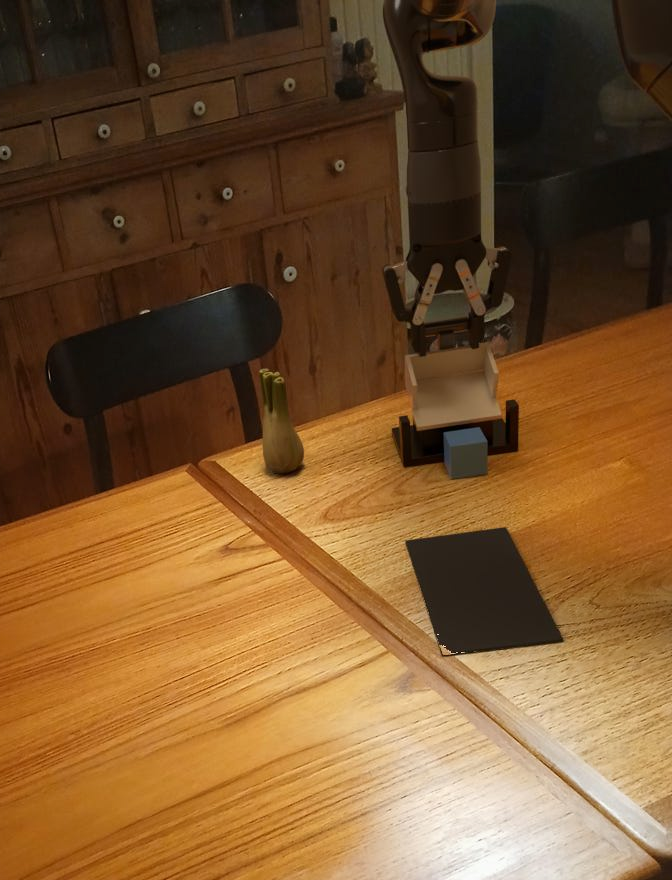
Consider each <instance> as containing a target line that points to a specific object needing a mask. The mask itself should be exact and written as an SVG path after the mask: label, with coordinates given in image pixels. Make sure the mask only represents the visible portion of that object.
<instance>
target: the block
mask: <svg viewBox="0 0 672 880" xmlns="http://www.w3.org/2000/svg"><path fill="white" fill-rule="evenodd" d="M443 465H444V467H445V469H446V471H447V473H448V475H449V478H450V479H451V480H457V479H462V478H470V477H471V478H472V477H476V476H478V477H479V476H484V475H488V455H487V440H486V438H485V436H484V434H483V433H482V431H481V429H480V427H478V428H471V429H464V430H457V431H450V432H444V461H443Z"/></svg>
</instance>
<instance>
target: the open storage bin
mask: <svg viewBox="0 0 672 880" xmlns="http://www.w3.org/2000/svg"><path fill="white" fill-rule="evenodd" d="M424 324H425V331H426V338H430V337H435V336H437V337H436V338H437V340H436V346H437V350H430V351H426V356H424V357H419V355H418V352H416V353H410V354H405V355H404V381H405V384H404V385H405V390H406V394H407V398H408V401H409V406H410V410H411V413H412V419H413V418H414V422H415V426H416V430H417V431H420V430H427V429H434V428H441V427H447V426H454V425H461V424H468V423H475V422H482V421H488V420H495V419H501V418H503V413H502V410H501V407H500V403H499V401H498V399H497V395H498V385H499V375H500V372H499V369H498V366H497V363H496V360H495V357H494V355H493V352H492V351H493V350H492V348H491V346H490V343H489V342H483V343H479V348H478V349H472V348H471V347H470V345H469V344H468V345H462V346H457V347H454V345H455V334H456V333H461V332H467V331H468V332H469V316H467V315H465V316H458V317H452V318H446V319H439V320H433V321H427V322H424Z"/></svg>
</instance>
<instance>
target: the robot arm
mask: <svg viewBox="0 0 672 880" xmlns="http://www.w3.org/2000/svg"><path fill="white" fill-rule="evenodd" d="M610 2H611V9H612V10H611V12H612V19H613V26H614V31H615V38H616V42H617V47H618V51H619V55H620V58H621V62H622V65H623V67H624V69H625V71H626V73H627V75H628V77H629V78H630V80H631V81H632V82H633V84H634V85H636V88H638V89H639V90H640V91H641V92H642V93H645V94H644V95H645V96H646V97H647V98H648V99H649V101H651V102H652V103H653V104H654V106H655V107H657V108H658V110H659V111H660V112H661V113H662V114H663V115H664V116H665V117H666V118H667V119H668V120H669V121H670V122H671V123H672V0H610ZM496 8H497V0H383V2H382V19H383V20H382V21H383V25H384V26H383V27H384V30H385V33H386V36H387V40H388V42H389V46H390V49H391V51H392V55H393V57H394V61H395V63H396V67H397V70H398V75H399V78H400V83H401V86H402V91H403V99H404V105H405V117H406V136H407V164H406V186H405V193H406V197H407V215H408V216H407V217H408V239H409V248H408V253H407V255H406V257H405V260H403V261H401V262H398V263H396V264H392V265H391V264H389V263H388V264H384V265H383V267H381V268H382V269H381V273H382V278H383V281H384V284H385V288H386V291H387V295H388V299H389V303H390V306H391V310H392V313H393V315H394V317H395V319H396V321H397V322H399V323H403V322H404V323H407V324H409V329H410V346H411V348H412V349H413V352H414V354H417V353H418V355H419V357H424V356H426V352H427V337H426V331H425V324H424V323H425V322H424V320H425V317H426V313H427V311H428V308H429V306H431V303H432V300H433V297H434V295H439V294H442V293H445V292H447V291H452V292H456V291H462V292H463V294H464V296H465V298H466V300H467V302H468V305H469V307H470V311H469V312H467V313H468V314H467V315H468V316H467V317H468V319H469V330H468V345H470V347H471V348H472V349H478V348H479V344H481V343H484V341H485V339H486V338H485V337H486V335H485V332H486V331H485V316H486V313H487V312H488V311H489V310H491V309H494V308H498V307H500V306H501V305H502V303H503V299H504V295H505V291H506V286H507V280H508V275H509V271H510V266H511V262H512V256H513V255H512V252H511V251H510V250H509V249H508V248H506V247H505V246H503V245H500V246H498V247H486V246H485V244H484V243H483V240H482V167H481V164H482V163H481V157H480V156H481V155H480V149H479V140H478V139H479V134H478V133H479V128H478V127H479V124H478V123H479V120H478V116H479V115H478V111H479V109H478V107H479V105H478V104H479V103H478V99H479V98H478V88H477V84H476V81H474V80H473V79H472V78H471V77H467V76H461V75H445V74H444V75H443V74H442V75H441V74H436V73H434V72H432V71H430V70H429V69H427V67H426V65H425V62H424V58H423V55H427V54H432V53H437V52H442V51H448V50H454V49H460V48H466V47H469V46H473V45H475V44H477V43H479V41H481V40H483V39H484V38H485V37H486V36H487V35H488V34H489V31H490V30H491V28H492V26H493V24H494V20H495V17H496V11H497V10H496ZM485 259H486V260H487V266H488V268H490V269H491V270H490V275H489V281H488V287H487V291H486V294H485V295H483V296H481V293H480V291H479V288H478V285H477V283H476V281H475V279H474V276H475V275H476V273H477V271H478V270H479V268H480V266H481V265H482V263H483V262H484V260H485ZM407 272H410V273H411V275H412V276H413V277H414V278H415V279H416V280H417V282H418V283H417V286H416V287H417V288H416V290H415V293H414V299H413V301H412V305H411V308H409V307H406V306H405V302H404V298H403V295H402V290H401V287H400V286H401V285H403V284H404V282H405V275H406V273H407Z"/></svg>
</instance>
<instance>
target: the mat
mask: <svg viewBox="0 0 672 880" xmlns="http://www.w3.org/2000/svg"><path fill="white" fill-rule="evenodd" d="M404 542H405V546H406V549H407V553H408V552H409V553H408V555H409V559H410V558H411V559H410V562H411V561H412V562H411V565H412V568H413V567H414V568H413V571H414V570H415V571H414V574H415V573H416V574H415V577H416V576H417V577H416V580H417V579H418V580H417V583H418V582H419V583H418V586H419V585H420V586H419V589H420V588H421V590H420V592H421V591H422V593H421V595H422V594H423V596H422V598H423V597H424V599H423V601H424V600H425V602H424V604H425V603H426V605H425V608H426V607H427V608H426V610H427V609H428V611H427V613H428V612H429V614H428V617H429V616H430V617H429V619H431V620H430V623H431V622H432V623H431V626H432V625H433V627H432V629H433V628H434V630H433V632H434V631H435V633H434V635H435V634H436V636H435V638H436V637H437V639H438V642H439V645H442V646H443V645H444V646H446V647H444V648H446V649H447V650H449V651H451V653H456V652H458V653H461V652H465V654H467V653H466V652H473V653H475V652H474V651H481V652H487V651H486V650H490V651H495V650H494V649H498V650H502V649H501V648H506V649H513V648H512V647H514V648H521V647H523V648H524V647H529V646H538V645H546V644H547V643H548V644H555V643H563V642H564V637H563V635H562V633H561V631H560V629H559V627H558V626H557V623H556V621H555V620H554V618H553V616H552V614H551V612H550V610H549V608H548V606H547V604H546V602H545V600H544V598H543V596H542V594H541V593H540V591H539V589H538V586H537V585H536V582H535V581H534V579H533V577H532V574H531V573H530V571H529V569H528V567H527V565H526V563H525V562H524V559H523V557H522V556H521V553H520V552H519V550H518V548H517V545H516V544H515V542H514V540H513V538H512V536H511V534H510V532H509V531H508V528H507V527H506V526H502V527H496V528H488V529H480V530H473V531H464V532H458V533H451V534H449V533H448V534H443V535H435V536H427V537H420V538H413V539H406V540H404ZM437 634H439V635H437ZM437 639H436V640H437ZM562 641H563V642H562ZM438 642H437V643H438ZM548 644H547V645H548ZM439 645H438V646H439ZM483 650H484V651H483Z"/></svg>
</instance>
